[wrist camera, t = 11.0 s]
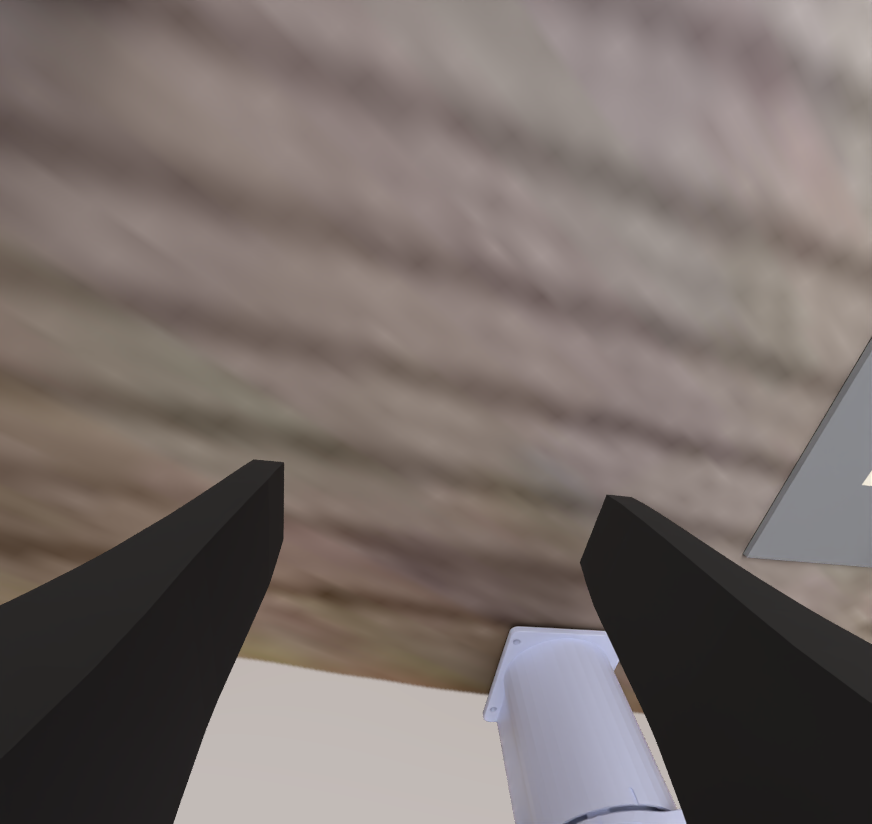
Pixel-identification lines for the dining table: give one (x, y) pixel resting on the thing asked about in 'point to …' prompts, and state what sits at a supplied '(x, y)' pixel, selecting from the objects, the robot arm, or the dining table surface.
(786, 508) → the mat
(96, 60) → the dining table surface
